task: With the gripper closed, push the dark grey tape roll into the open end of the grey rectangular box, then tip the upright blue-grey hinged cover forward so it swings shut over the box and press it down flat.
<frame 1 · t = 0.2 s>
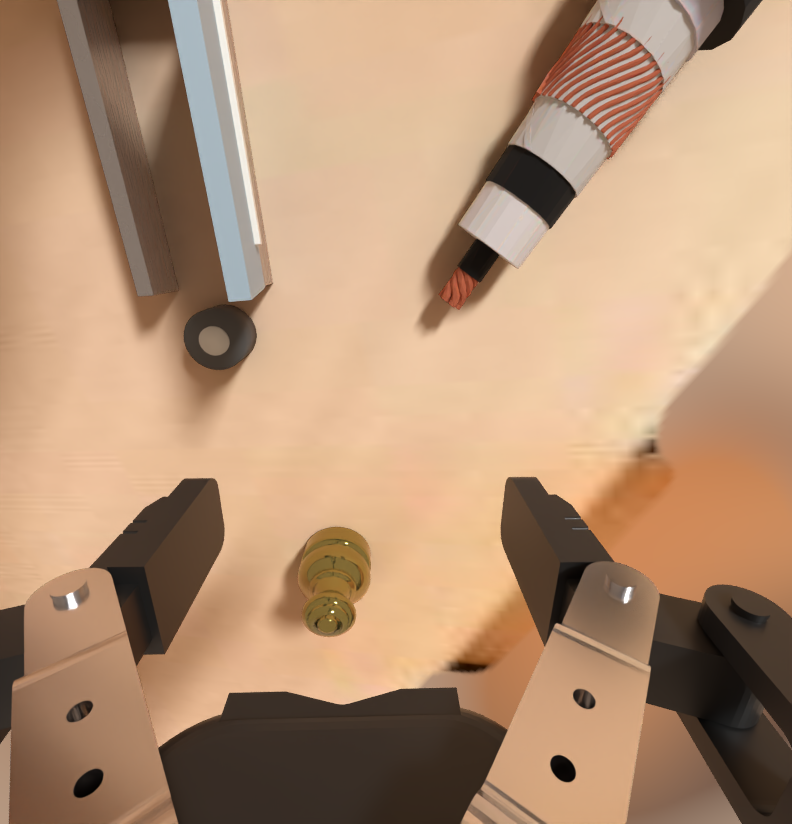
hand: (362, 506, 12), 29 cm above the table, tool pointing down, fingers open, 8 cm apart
grey rectangular box: (191, 155, 34), on the table
cover: (221, 113, 25), point 10 cm above the table, hinge at 100.0°
dark grey tape roll: (228, 333, 39), on the table
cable: (568, 115, 34), on the table
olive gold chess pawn: (337, 551, 48), on the table
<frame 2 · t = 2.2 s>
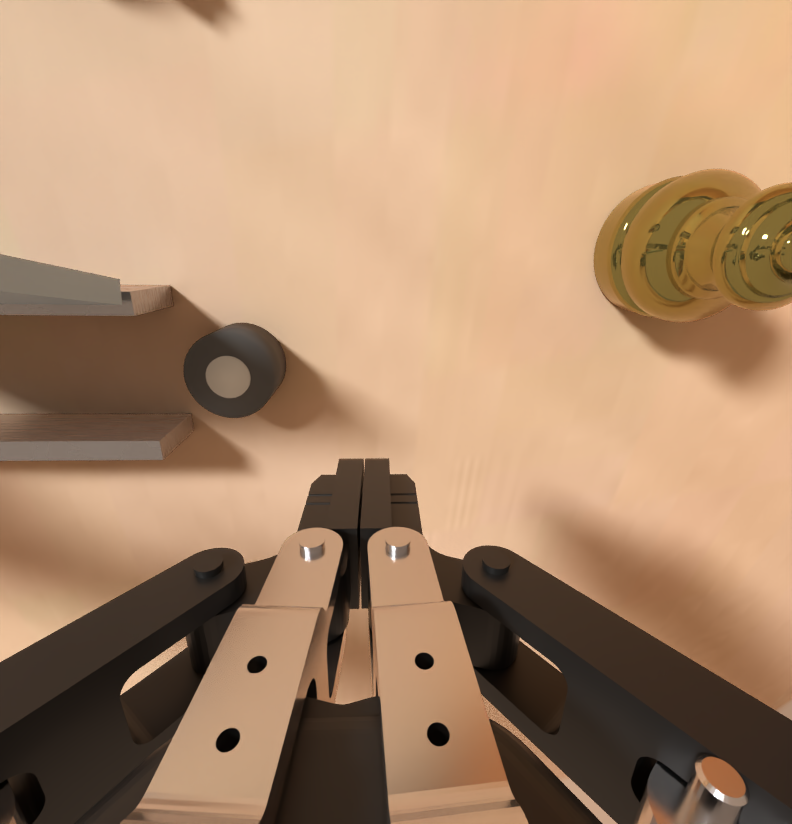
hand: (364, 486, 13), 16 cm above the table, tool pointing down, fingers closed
grey rectangular box: (20, 361, 27), on the table
dark grey tape roll: (246, 361, 27), on the table
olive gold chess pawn: (648, 250, 26), on the table
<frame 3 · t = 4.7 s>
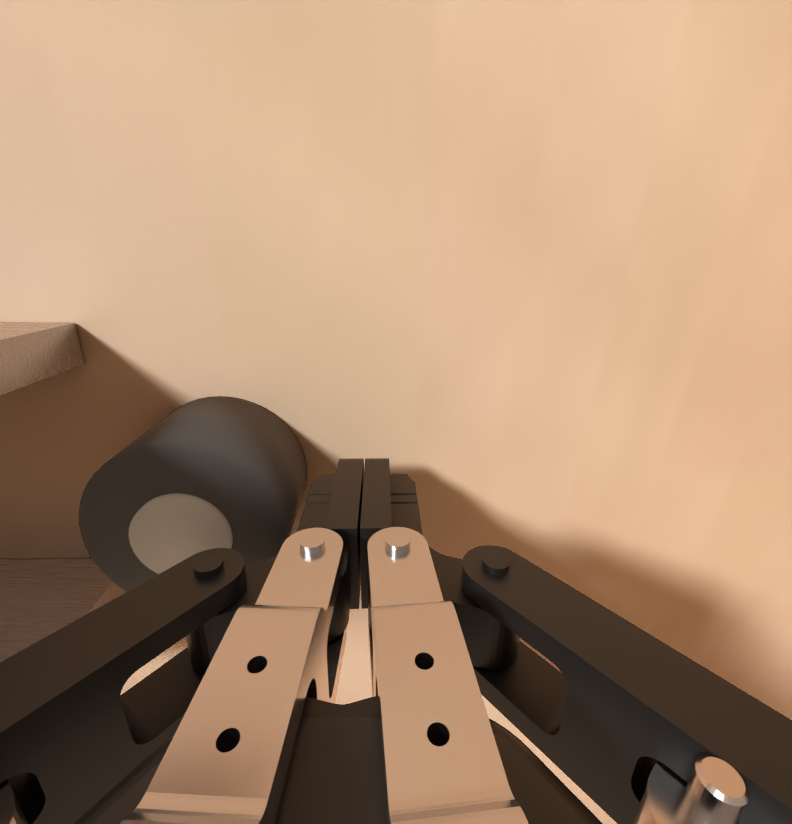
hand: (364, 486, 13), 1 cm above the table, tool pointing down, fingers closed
dark grey tape roll: (230, 468, 14), on the table, touching gripper
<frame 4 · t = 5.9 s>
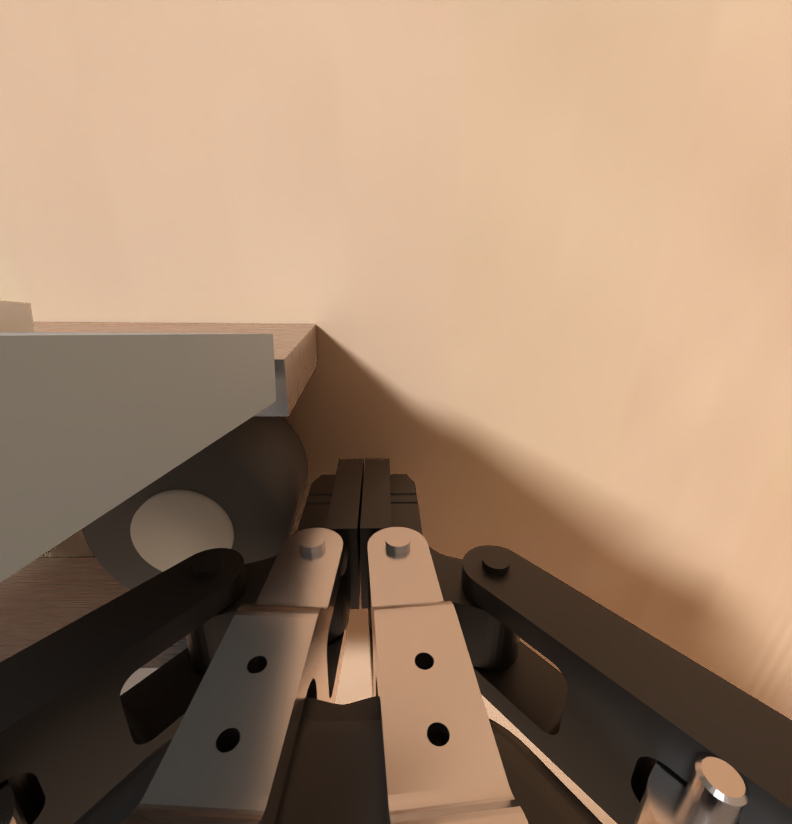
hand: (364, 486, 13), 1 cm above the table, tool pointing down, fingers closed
grey rectangular box: (10, 468, 14), on the table
dark grey tape roll: (230, 466, 14), on the table, touching gripper
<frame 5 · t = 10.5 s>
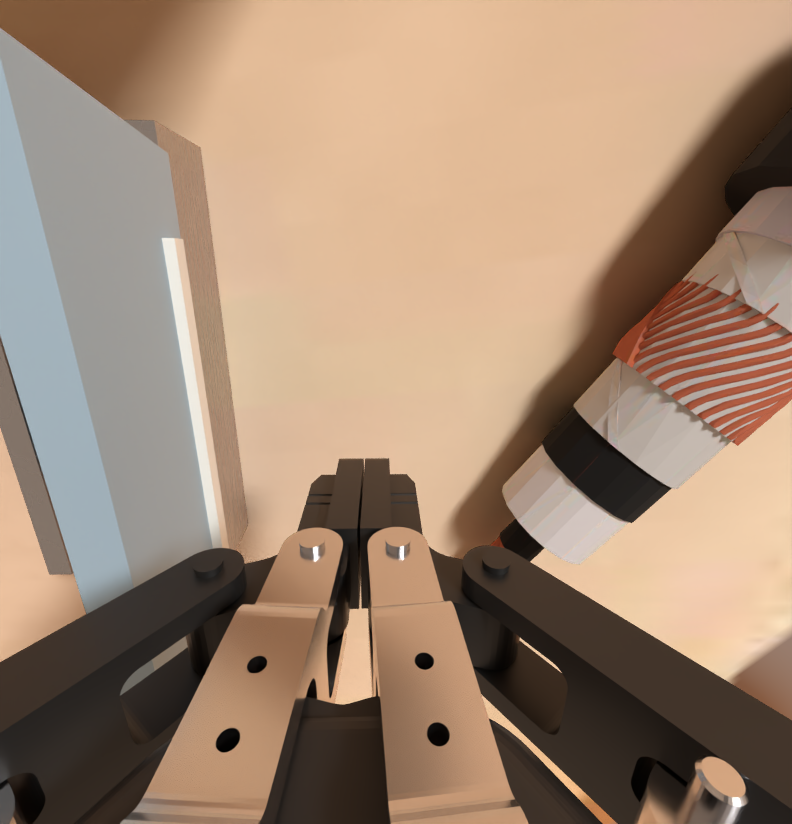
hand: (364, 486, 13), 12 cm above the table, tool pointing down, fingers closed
grey rectangular box: (144, 375, 24), on the table
cover: (167, 449, 15), point 10 cm above the table, hinge at 100.0°
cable: (653, 344, 25), on the table
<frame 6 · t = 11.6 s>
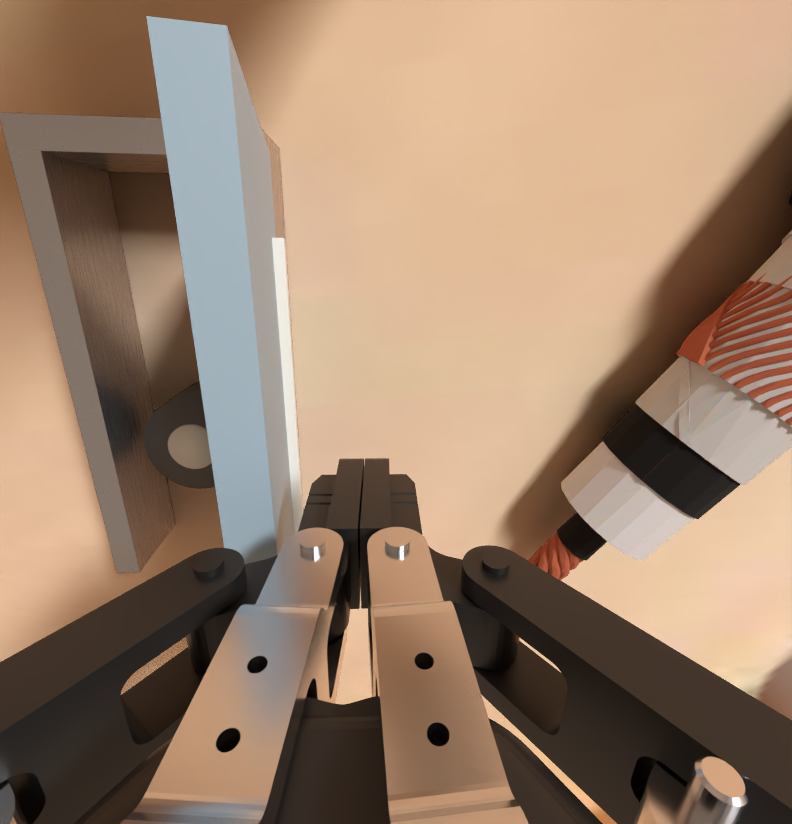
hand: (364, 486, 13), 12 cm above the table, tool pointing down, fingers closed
grey rectangular box: (210, 373, 24), on the table
cover: (272, 447, 15), point 10 cm above the table, hinge at 99.0°, touching gripper
dark grey tape roll: (217, 420, 25), on the table
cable: (709, 343, 25), on the table
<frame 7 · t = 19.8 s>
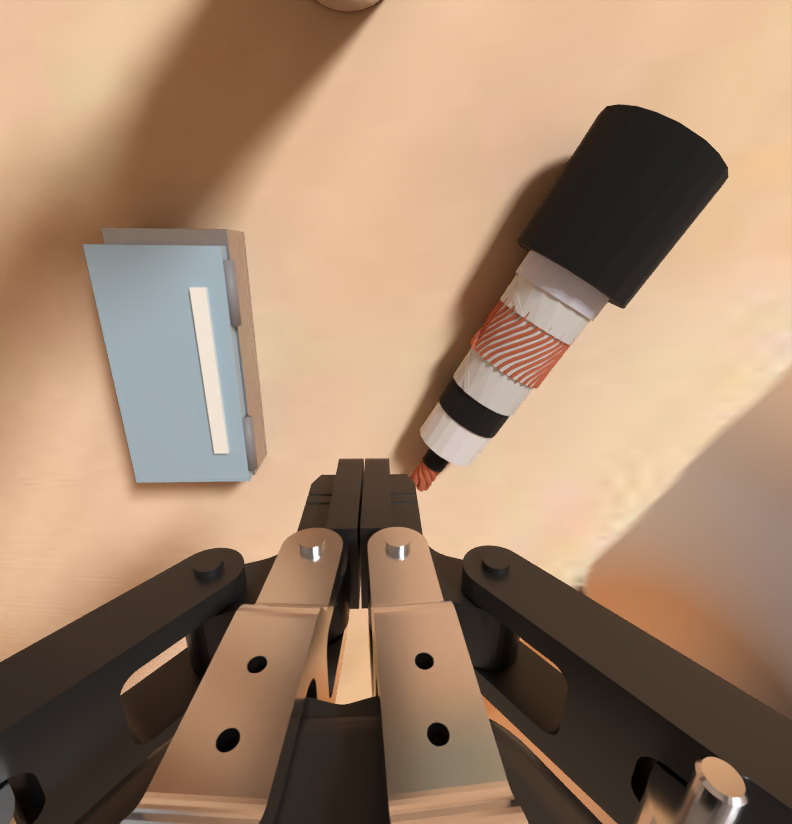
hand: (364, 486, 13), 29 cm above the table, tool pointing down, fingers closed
grey rectangular box: (206, 359, 41), on the table
cover: (181, 373, 36), point 5 cm above the table, hinge at 0.8°
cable: (505, 334, 41), on the table
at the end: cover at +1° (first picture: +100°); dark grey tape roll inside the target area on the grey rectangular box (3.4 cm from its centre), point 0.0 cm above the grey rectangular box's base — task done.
